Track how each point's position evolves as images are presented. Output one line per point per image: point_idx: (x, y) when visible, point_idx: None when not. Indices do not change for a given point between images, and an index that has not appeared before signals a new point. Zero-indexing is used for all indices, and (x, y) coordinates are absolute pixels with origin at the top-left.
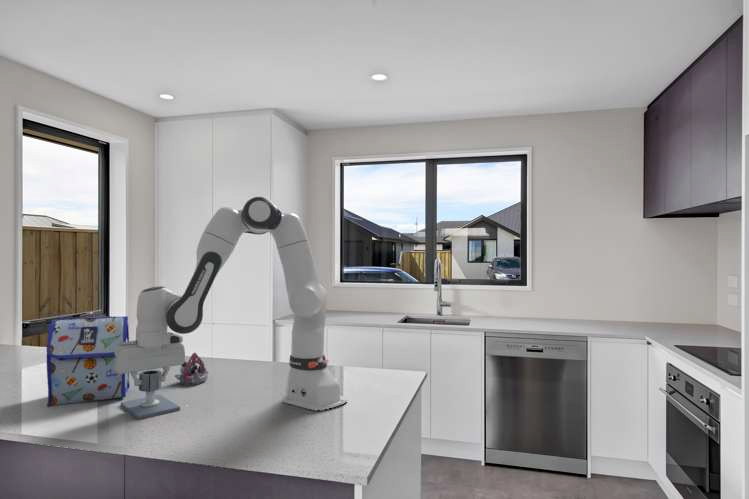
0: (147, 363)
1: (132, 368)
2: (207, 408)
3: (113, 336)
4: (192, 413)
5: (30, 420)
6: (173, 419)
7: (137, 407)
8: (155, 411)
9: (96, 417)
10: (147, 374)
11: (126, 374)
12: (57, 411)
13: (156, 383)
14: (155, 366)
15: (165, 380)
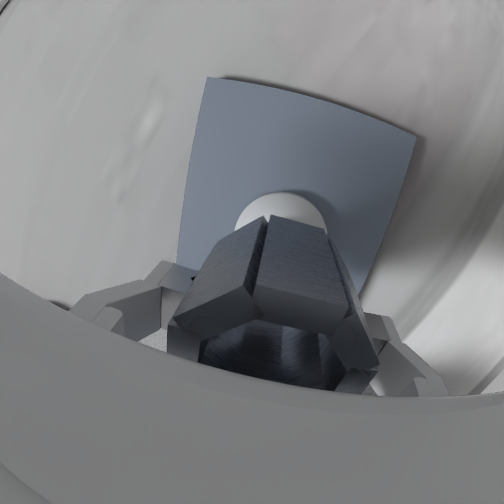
0: (373, 473)
1: (490, 420)
2: (130, 24)
3: None
4: (207, 6)
5: (474, 380)
6: (312, 4)
7: (341, 248)
8: (333, 115)
9: (444, 298)
10: (343, 347)
11: None
12: None
13: (271, 236)
14: (245, 398)
15: (162, 260)
